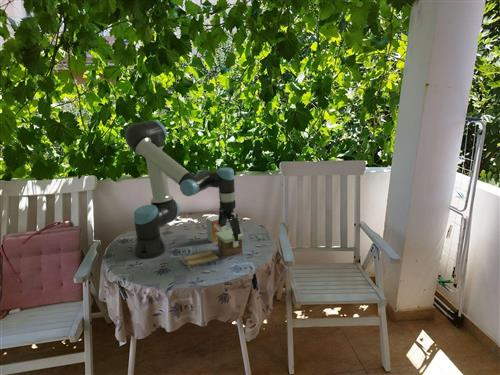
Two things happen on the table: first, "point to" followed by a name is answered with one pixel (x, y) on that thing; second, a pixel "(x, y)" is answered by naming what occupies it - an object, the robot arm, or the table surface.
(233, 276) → the table surface
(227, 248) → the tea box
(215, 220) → the small box
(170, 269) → the table surface
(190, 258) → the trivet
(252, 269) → the table surface
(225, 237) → the lid
